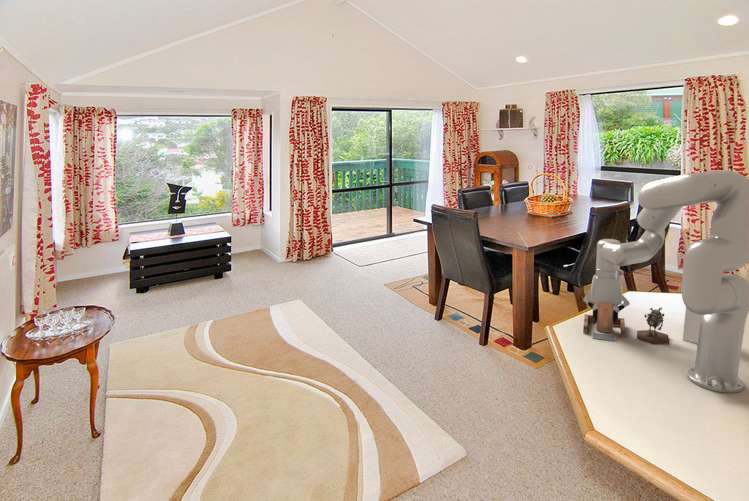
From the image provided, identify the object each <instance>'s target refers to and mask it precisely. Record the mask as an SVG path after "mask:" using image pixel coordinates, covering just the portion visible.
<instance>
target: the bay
mask: <svg viewBox="0 0 749 501" xmlns="http://www.w3.org/2000/svg"><path fill="white" fill-rule="evenodd" d="M596 321H597V320H596ZM596 321H595V318H593V314H584V317H583V328H582V329H583V330H582V331H583V332H582V333H583V334H588V324H596ZM613 325H616V327H619V328H620V339H626V334H627V333H626V332H627V330H626V323H625V318H624V317H623V318H621V317H618V320H616V323H614V322H613Z"/></svg>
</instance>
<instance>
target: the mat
mask: <svg viewBox="0 0 749 501" xmlns="http://www.w3.org/2000/svg"><path fill="white" fill-rule="evenodd" d="M592 339H593V340H599V341H607V342H614V341H615V342H616V335H615V334H608V333H599V332H592Z"/></svg>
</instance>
